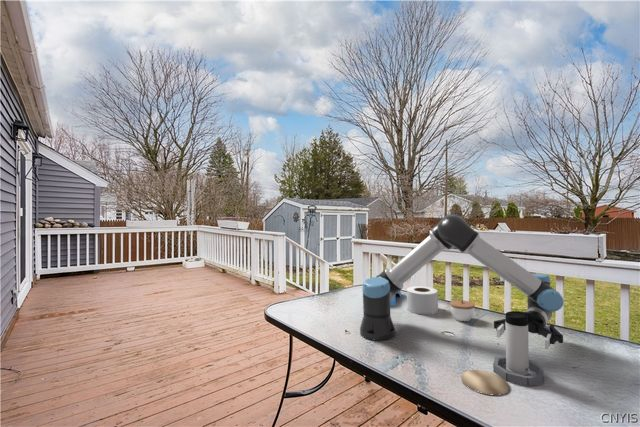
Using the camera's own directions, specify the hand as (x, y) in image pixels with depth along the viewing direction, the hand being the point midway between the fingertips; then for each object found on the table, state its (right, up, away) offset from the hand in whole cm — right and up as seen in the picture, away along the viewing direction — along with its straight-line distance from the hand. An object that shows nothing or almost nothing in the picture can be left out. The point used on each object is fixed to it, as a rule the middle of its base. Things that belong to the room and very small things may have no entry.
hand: (521, 338), depth 103 cm
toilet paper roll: (-12, -10, +63) cm, 65 cm away
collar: (-2, -11, -1) cm, 11 cm away
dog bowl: (-28, -10, +86) cm, 91 cm away
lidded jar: (+2, -10, +48) cm, 49 cm away
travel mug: (-2, -11, -1) cm, 11 cm away
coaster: (-15, -11, -6) cm, 20 cm away
